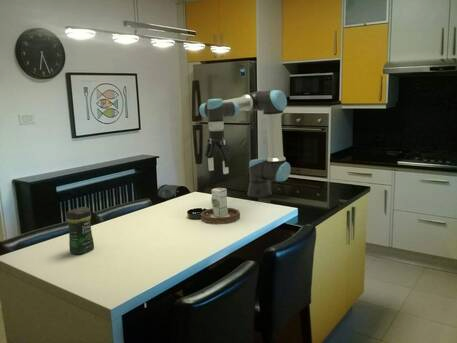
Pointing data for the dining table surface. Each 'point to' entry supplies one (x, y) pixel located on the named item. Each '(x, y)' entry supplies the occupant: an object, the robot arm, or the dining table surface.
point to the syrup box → (219, 202)
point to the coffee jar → (80, 230)
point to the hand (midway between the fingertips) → (218, 172)
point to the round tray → (209, 218)
